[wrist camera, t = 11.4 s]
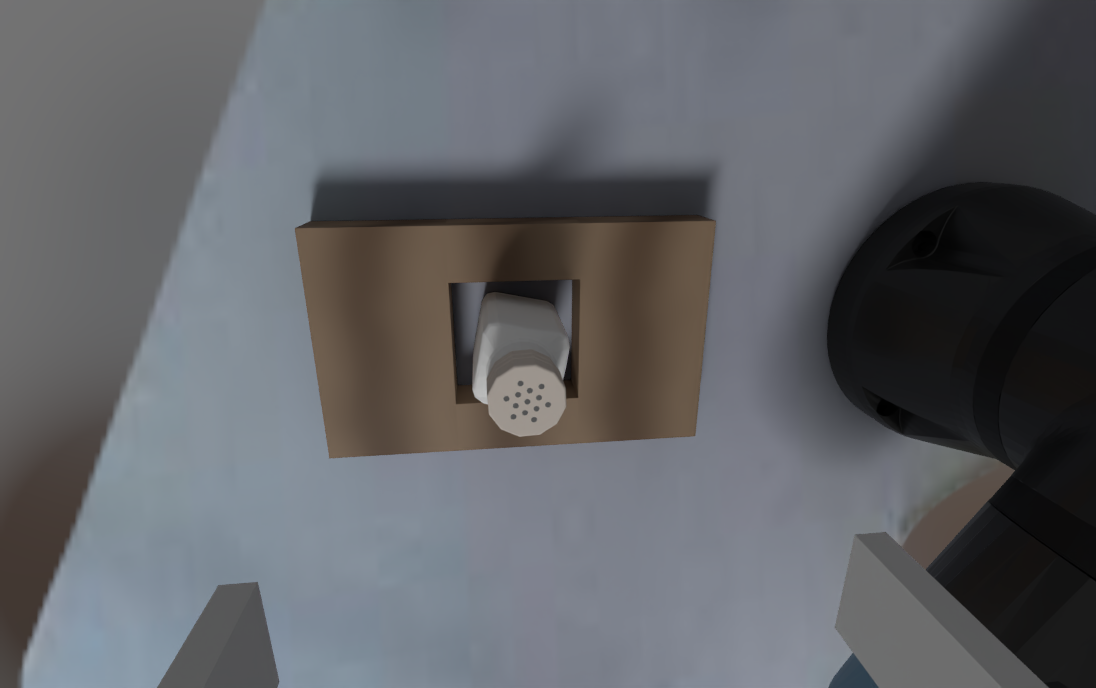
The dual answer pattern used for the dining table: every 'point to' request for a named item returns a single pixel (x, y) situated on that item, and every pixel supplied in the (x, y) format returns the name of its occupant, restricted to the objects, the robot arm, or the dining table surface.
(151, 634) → the dining table surface
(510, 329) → the pepper shaker
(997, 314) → the robot arm
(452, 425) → the spice block
